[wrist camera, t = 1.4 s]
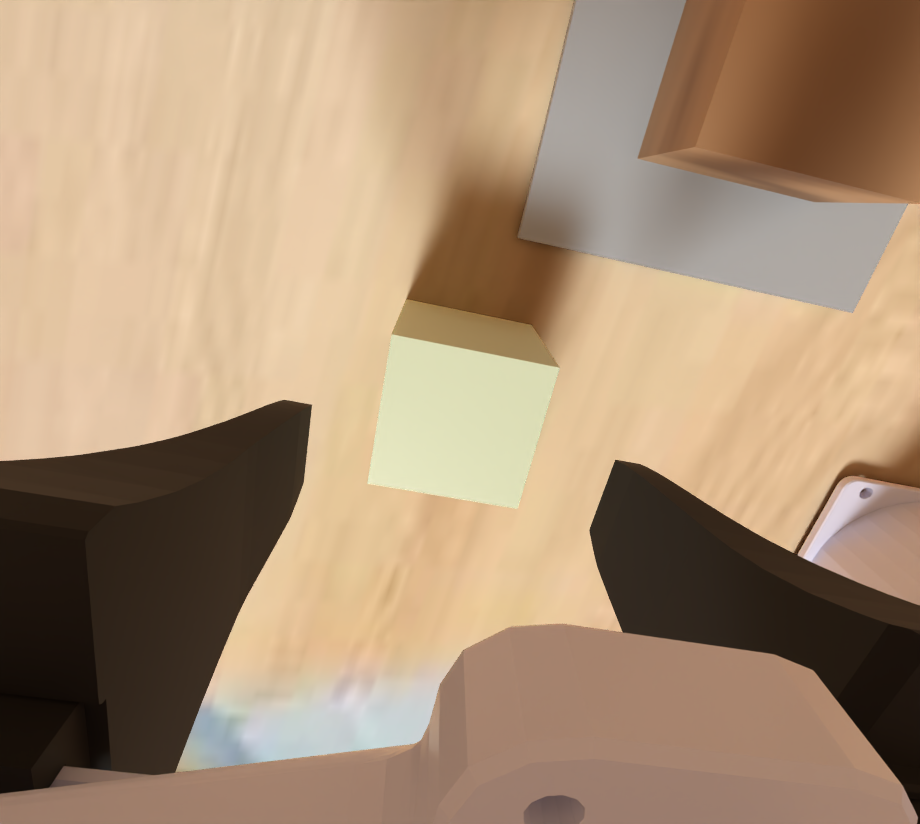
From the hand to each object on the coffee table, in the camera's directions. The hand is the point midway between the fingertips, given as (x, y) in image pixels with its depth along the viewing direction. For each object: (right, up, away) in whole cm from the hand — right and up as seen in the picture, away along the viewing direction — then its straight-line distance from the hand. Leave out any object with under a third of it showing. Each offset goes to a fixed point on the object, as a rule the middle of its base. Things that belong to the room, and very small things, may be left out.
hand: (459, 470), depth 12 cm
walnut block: (+9, +11, +3) cm, 15 cm away
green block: (0, +3, +7) cm, 7 cm away
